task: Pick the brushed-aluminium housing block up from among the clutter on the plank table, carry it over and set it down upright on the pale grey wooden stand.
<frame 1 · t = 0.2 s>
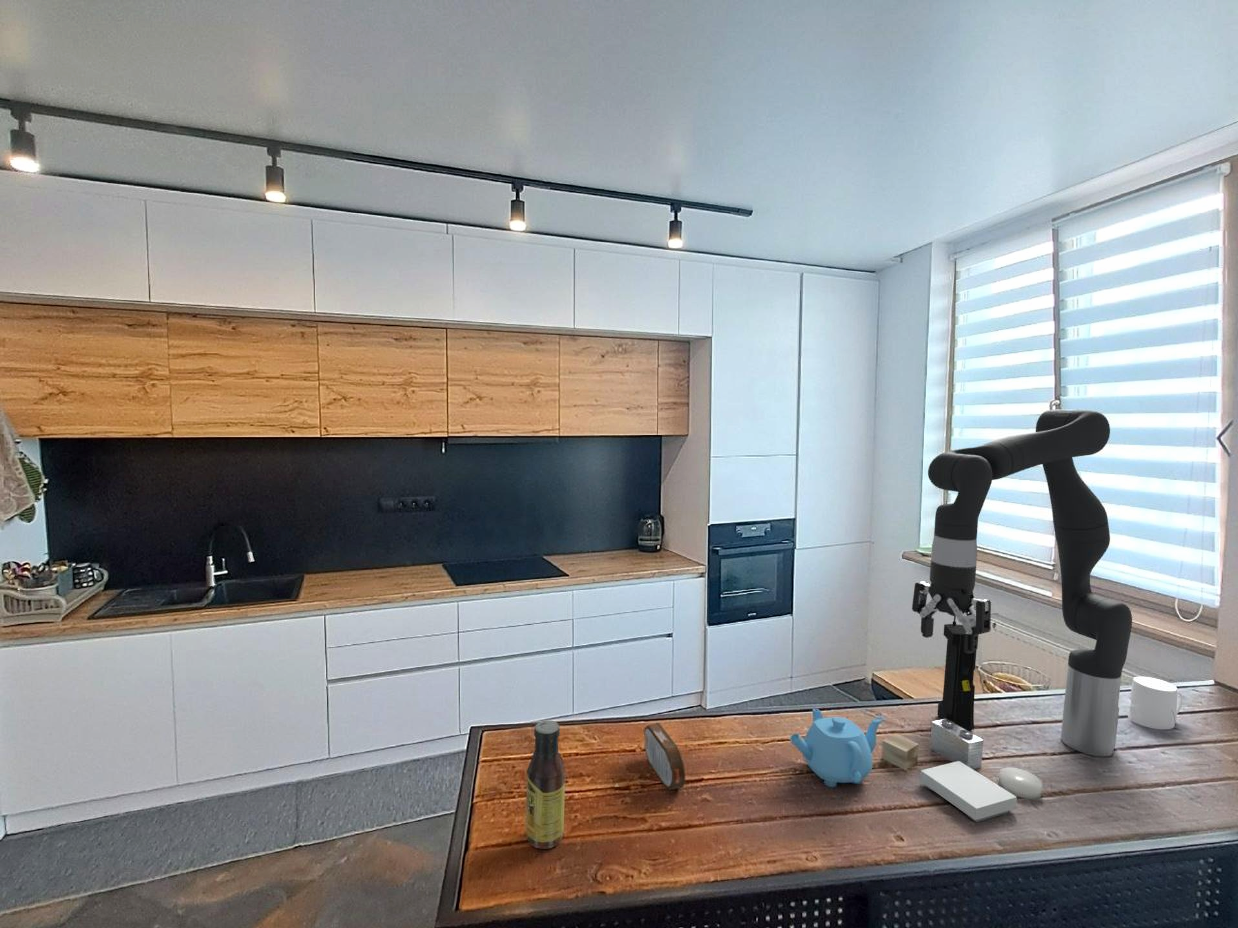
hand: (947, 644, 117), 28 cm above the table, fingers open, 8 cm apart
glossy white pebble: (1019, 787, 120), on the table
tin: (662, 776, 121), on the table
oak block: (899, 760, 128), on the table
sauce bottle: (544, 840, 102), on the table
portable radio: (955, 725, 143), on the table
mug: (1155, 721, 148), on the table
stand: (966, 798, 116), on the table
teapot: (833, 772, 123), on the table
housing: (954, 757, 130), on the table
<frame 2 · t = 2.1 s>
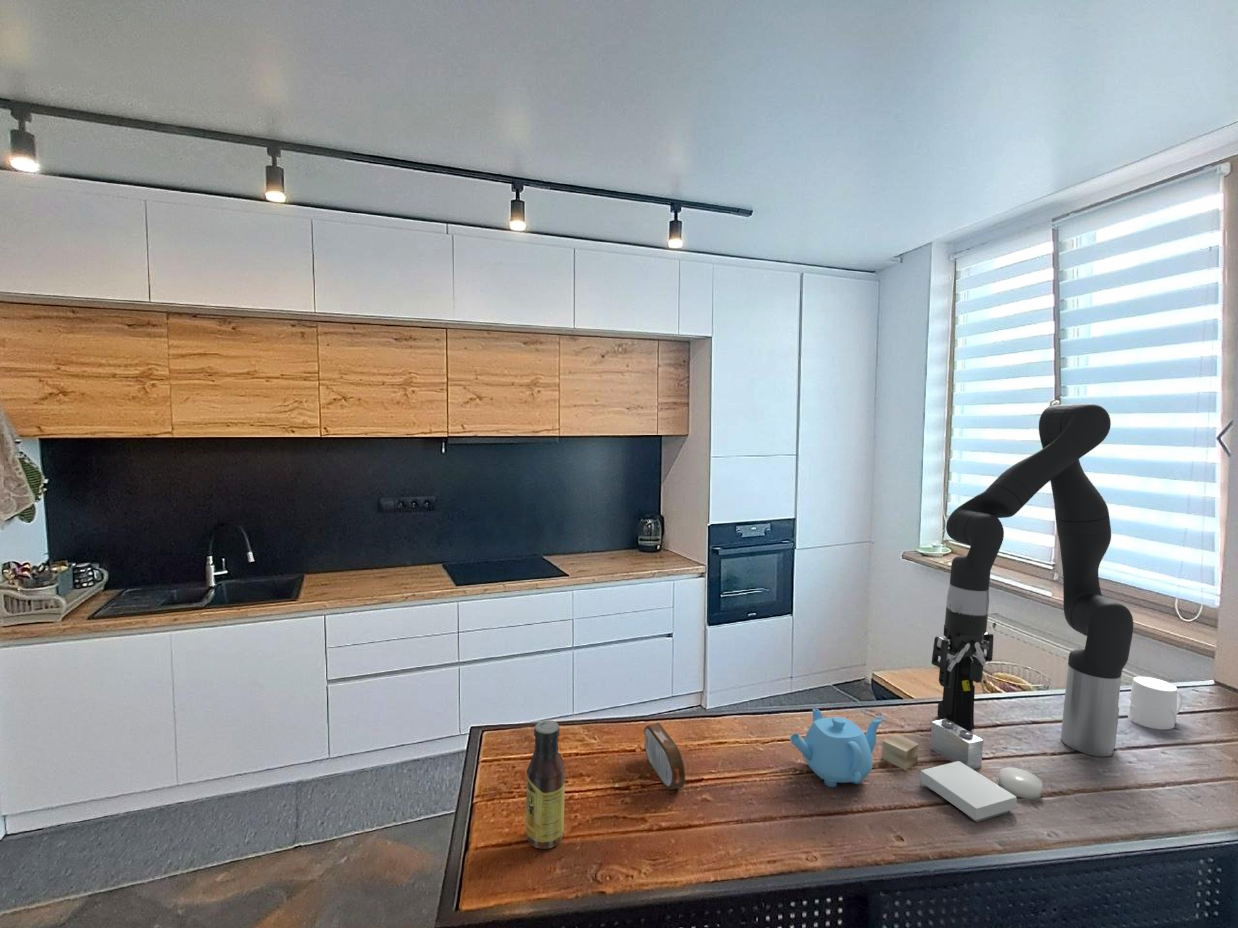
hand: (960, 683, 128), 16 cm above the table, fingers open, 8 cm apart
nothing on the table moved.
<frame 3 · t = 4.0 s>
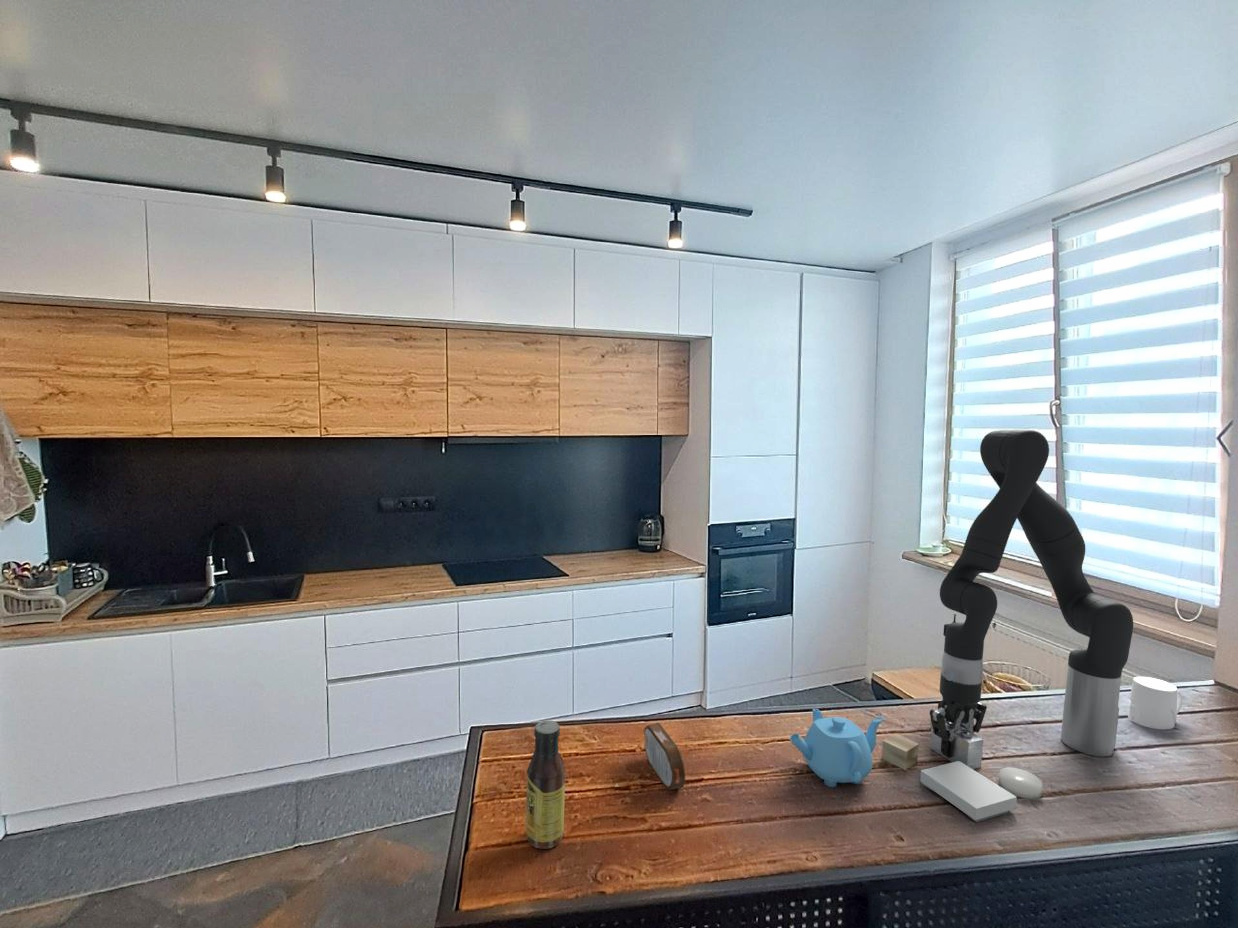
hand: (954, 753, 130), 1 cm above the table, fingers closed on housing, 4 cm apart
housing: (954, 757, 130), on the table, touching gripper
everything else where it was.
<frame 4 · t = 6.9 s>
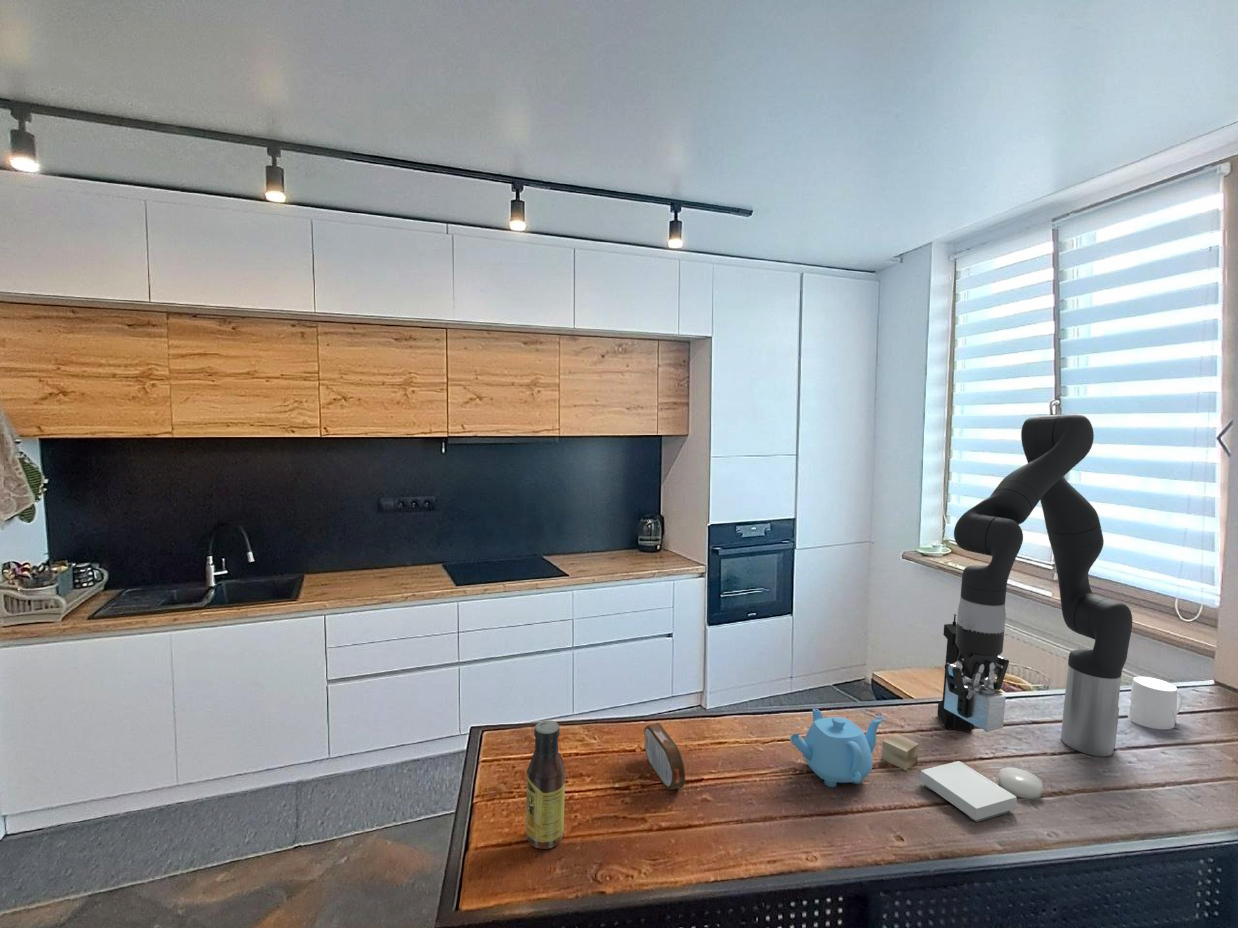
hand: (973, 713, 114), 17 cm above the table, fingers closed on housing, 4 cm apart
housing: (972, 717, 115), point 16 cm above the table, touching gripper
everything else where it was.
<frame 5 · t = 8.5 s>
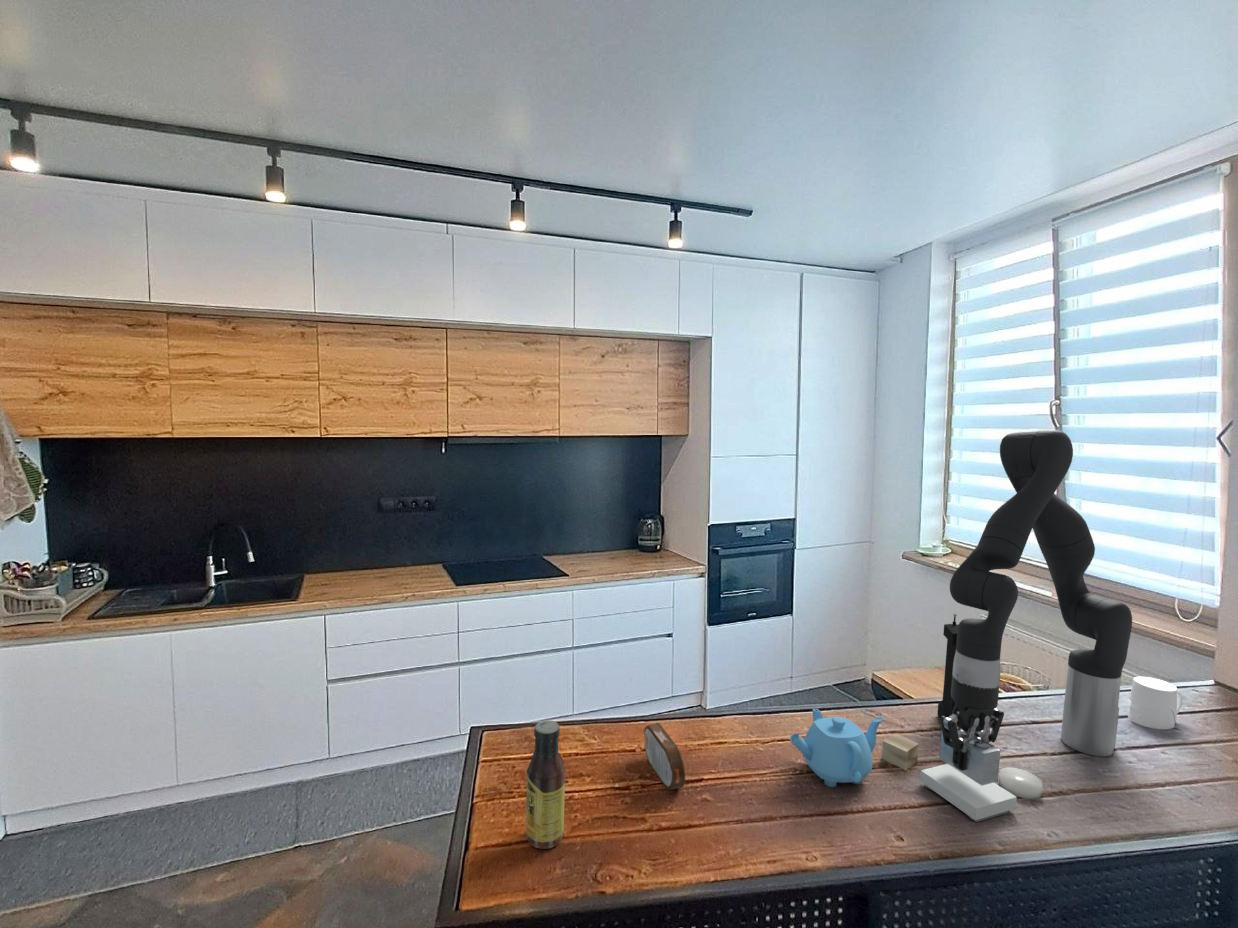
hand: (968, 765, 115), 6 cm above the table, fingers closed on housing, 4 cm apart
housing: (967, 769, 116), point 6 cm above the table, touching gripper
everything else where it was.
when the fingers open (5 cm above the table, at t = 9.7 s): housing stays where it is, resting on stand.
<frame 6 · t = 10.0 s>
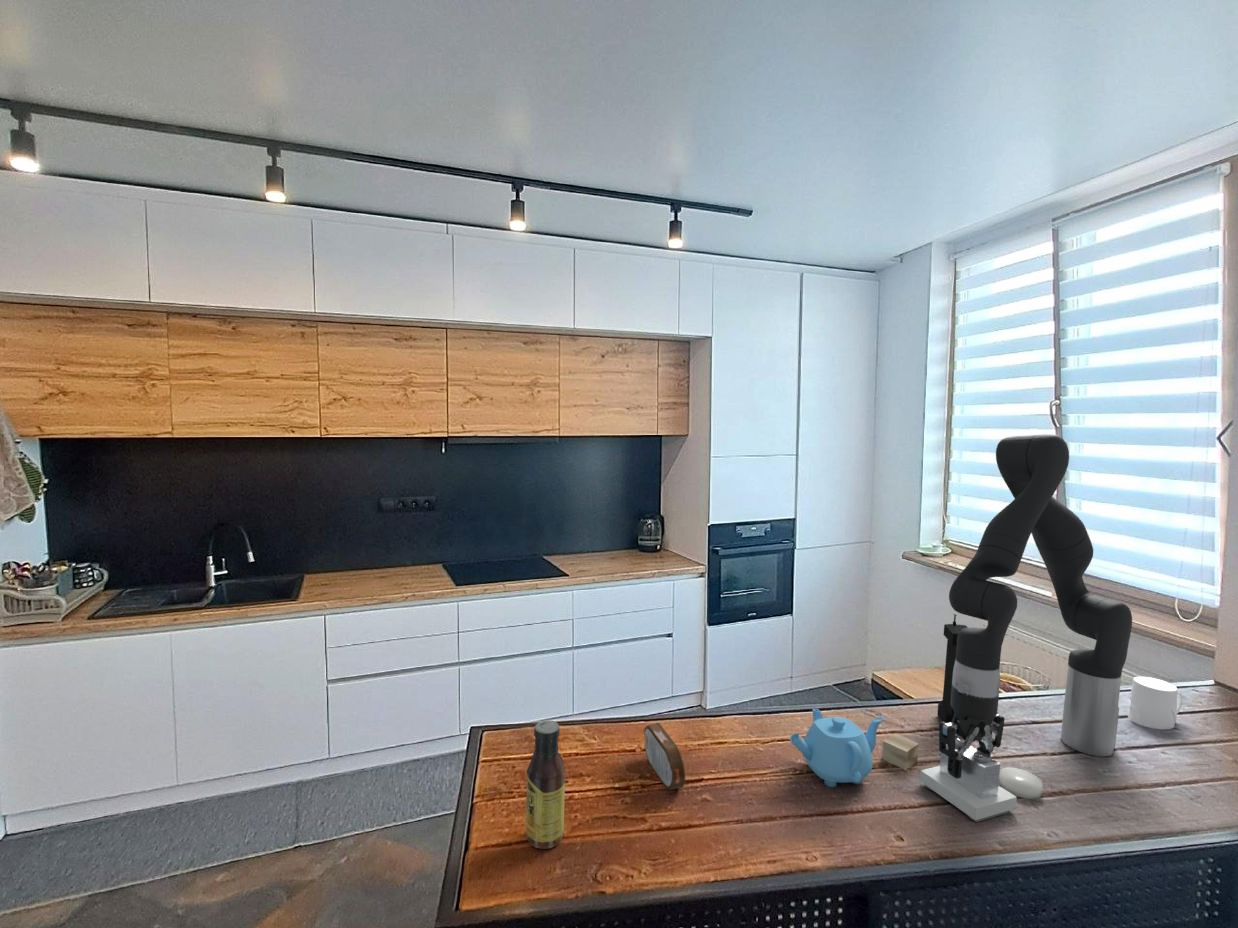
hand: (968, 771, 115), 5 cm above the table, fingers open, 6 cm apart
housing: (967, 782, 116), point 3 cm above the table, touching stand
everything else where it was.
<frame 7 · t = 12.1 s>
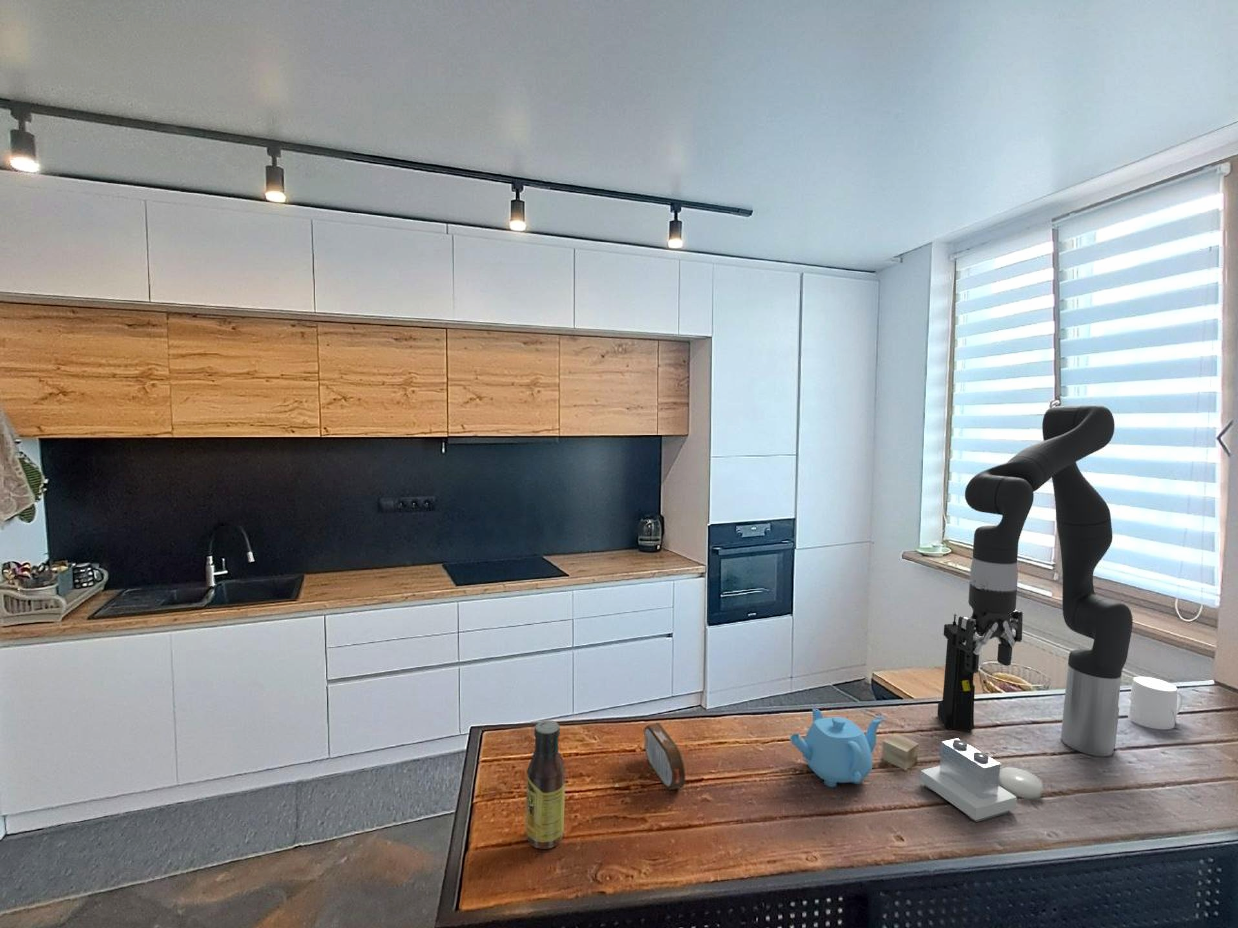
hand: (987, 667, 116), 24 cm above the table, fingers open, 8 cm apart
nothing on the table moved.
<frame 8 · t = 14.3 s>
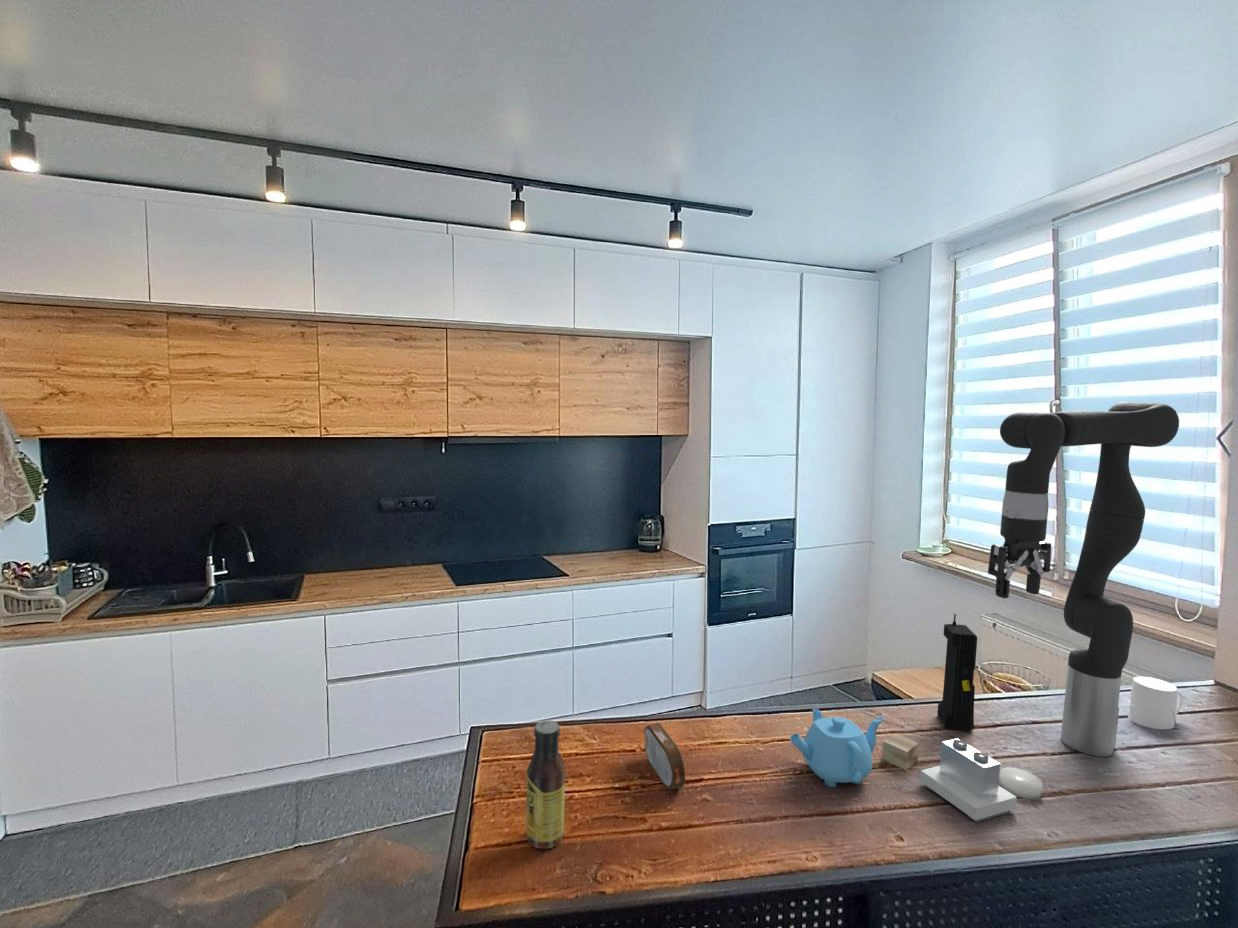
hand: (1017, 595, 123), 36 cm above the table, fingers open, 8 cm apart
nothing on the table moved.
at the end: housing inside the target area on the stand (0.2 cm from its centre), point 3.0 cm above the stand's base; housing tilted 0°; the gripper is holding nothing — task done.
